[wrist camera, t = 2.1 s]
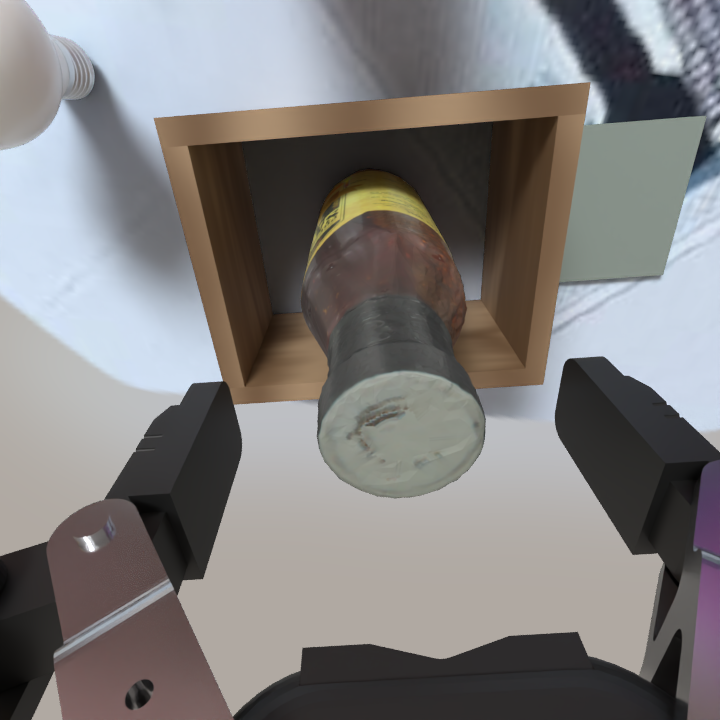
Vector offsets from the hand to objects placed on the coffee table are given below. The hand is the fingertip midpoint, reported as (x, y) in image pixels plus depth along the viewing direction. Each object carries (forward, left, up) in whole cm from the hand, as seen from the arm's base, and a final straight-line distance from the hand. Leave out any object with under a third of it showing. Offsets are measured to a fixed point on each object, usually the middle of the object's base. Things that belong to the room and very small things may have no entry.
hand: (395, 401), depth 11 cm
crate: (0, 0, -19) cm, 19 cm away
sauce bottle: (0, 0, -19) cm, 19 cm away
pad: (-14, 0, -19) cm, 24 cm away
